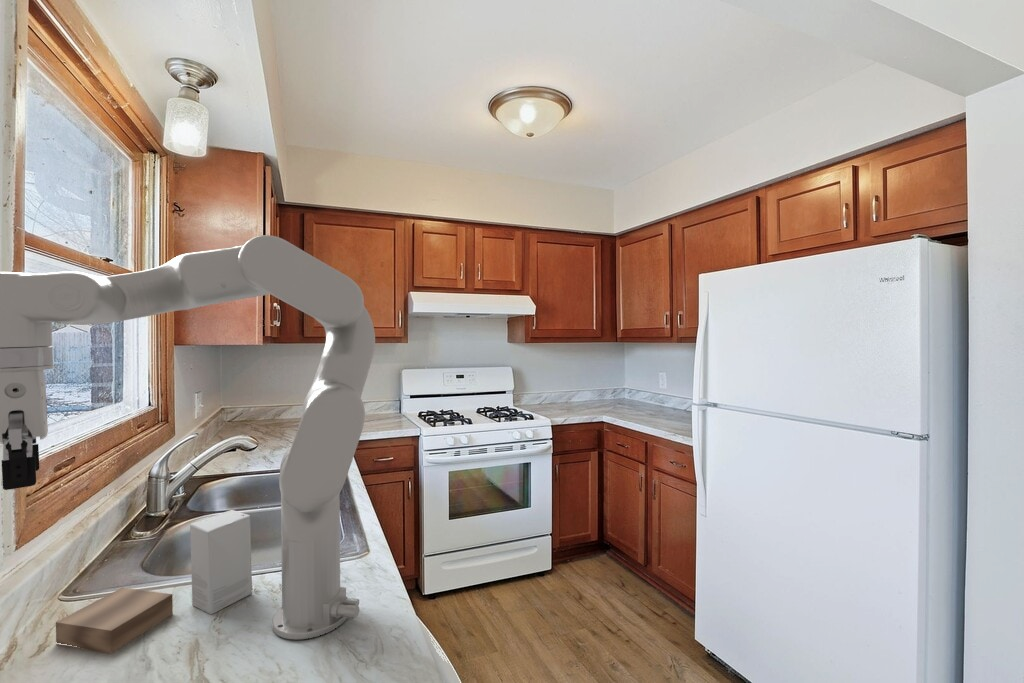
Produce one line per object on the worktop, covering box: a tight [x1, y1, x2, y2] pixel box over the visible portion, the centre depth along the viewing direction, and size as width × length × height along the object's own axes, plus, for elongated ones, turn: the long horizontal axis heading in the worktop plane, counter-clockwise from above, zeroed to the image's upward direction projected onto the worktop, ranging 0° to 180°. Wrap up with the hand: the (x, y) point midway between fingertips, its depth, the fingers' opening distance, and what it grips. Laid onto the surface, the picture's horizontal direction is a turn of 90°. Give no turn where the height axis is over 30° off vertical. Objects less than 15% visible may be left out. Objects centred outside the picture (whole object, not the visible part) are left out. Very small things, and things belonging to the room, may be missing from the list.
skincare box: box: [189, 509, 253, 615], centre depth 93 cm, size 8×7×16 cm
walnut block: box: [55, 587, 174, 654], centre depth 84 cm, size 11×11×4 cm
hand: (22, 479), depth 71 cm, fingers open, 9 cm apart
